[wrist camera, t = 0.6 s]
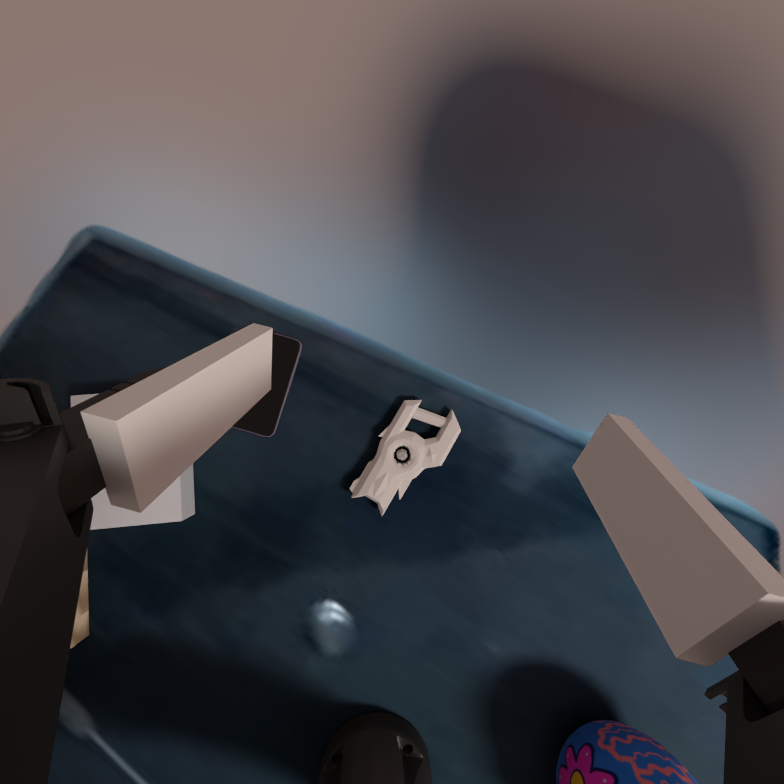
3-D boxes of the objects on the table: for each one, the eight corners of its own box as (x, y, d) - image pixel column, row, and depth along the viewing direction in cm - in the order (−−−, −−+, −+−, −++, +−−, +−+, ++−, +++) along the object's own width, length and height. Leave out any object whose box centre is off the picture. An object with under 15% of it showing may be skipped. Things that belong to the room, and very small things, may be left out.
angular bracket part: (406, 533, 43) (343, 495, 43) (403, 525, 46) (345, 490, 46) (469, 418, 45) (410, 382, 45) (463, 419, 49) (407, 386, 49)
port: (195, 513, 45) (179, 522, 42) (94, 523, 44) (70, 532, 41) (189, 389, 46) (174, 387, 43) (91, 396, 46) (67, 395, 42)
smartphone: (224, 424, 46) (255, 327, 46) (228, 424, 47) (258, 328, 48) (272, 439, 46) (303, 341, 46) (275, 438, 47) (305, 342, 48)
